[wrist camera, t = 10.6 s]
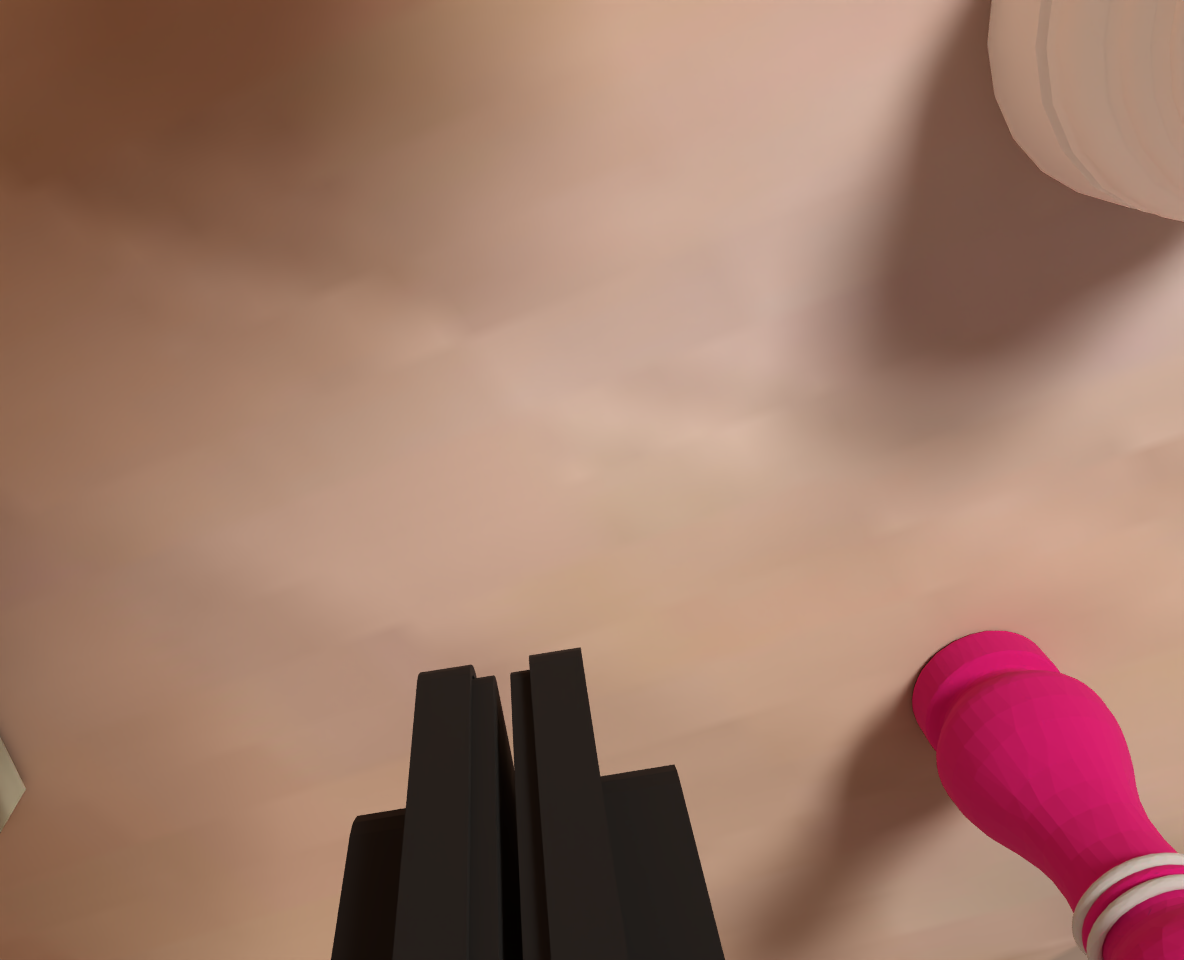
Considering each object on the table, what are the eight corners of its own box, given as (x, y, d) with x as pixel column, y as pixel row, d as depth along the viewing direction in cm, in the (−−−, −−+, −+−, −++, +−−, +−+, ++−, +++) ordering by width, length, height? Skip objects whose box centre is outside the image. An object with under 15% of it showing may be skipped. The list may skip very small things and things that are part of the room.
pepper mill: (1075, 707, 46) (1465, 1157, 28) (931, 775, 47) (1217, 1255, 29) (1030, 591, 43) (1433, 1011, 25) (876, 666, 44) (1157, 1125, 26)
